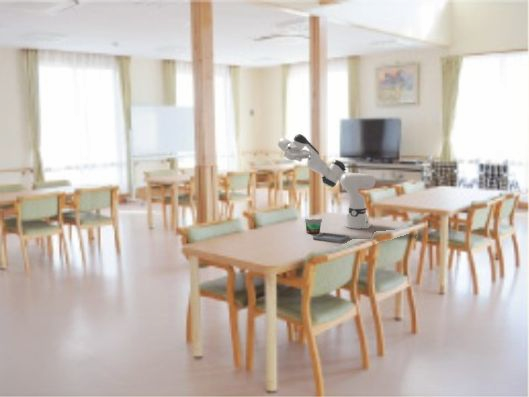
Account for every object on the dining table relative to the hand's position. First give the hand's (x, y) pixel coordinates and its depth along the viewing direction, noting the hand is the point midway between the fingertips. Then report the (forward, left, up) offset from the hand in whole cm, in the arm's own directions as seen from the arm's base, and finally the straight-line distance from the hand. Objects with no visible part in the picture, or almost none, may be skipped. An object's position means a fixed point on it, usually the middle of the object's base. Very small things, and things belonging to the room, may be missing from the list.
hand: (305, 160), depth 379 cm
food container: (+12, +14, -49) cm, 53 cm away
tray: (+22, +31, -49) cm, 62 cm away
